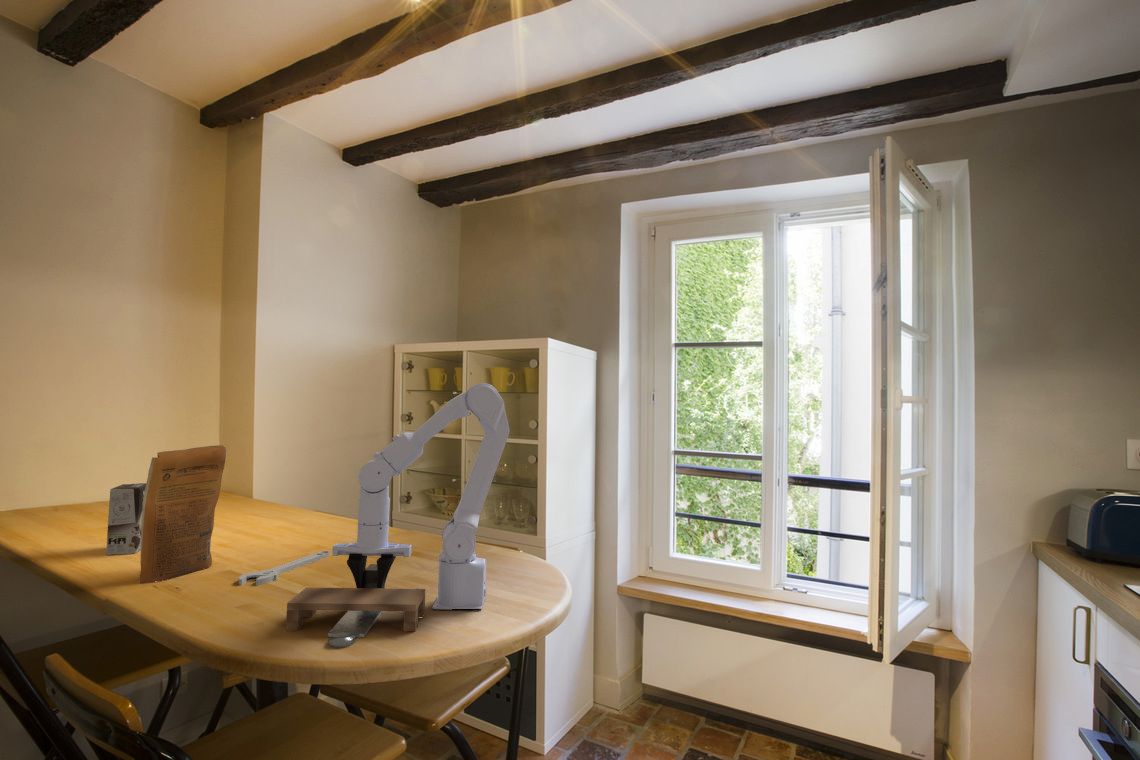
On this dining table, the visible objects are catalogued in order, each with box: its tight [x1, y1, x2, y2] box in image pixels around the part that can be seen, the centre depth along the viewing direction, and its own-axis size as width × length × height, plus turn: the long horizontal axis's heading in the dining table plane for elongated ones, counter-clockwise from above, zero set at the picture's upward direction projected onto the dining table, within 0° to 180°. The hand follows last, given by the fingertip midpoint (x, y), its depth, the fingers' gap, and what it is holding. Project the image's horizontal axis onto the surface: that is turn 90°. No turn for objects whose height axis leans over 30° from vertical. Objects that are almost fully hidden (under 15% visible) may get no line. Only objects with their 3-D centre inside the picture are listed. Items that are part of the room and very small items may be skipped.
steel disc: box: [328, 632, 356, 649], centre depth 94 cm, size 4×4×1 cm
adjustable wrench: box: [237, 550, 331, 586], centre depth 131 cm, size 25×6×2 cm, turn 159°
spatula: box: [327, 563, 386, 638], centre depth 105 cm, size 6×18×7 cm, turn 3°
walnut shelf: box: [285, 586, 426, 633], centre depth 102 cm, size 22×8×5 cm, turn 93°
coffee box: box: [105, 482, 147, 556], centre depth 143 cm, size 9×6×16 cm
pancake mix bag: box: [137, 444, 227, 584], centre depth 126 cm, size 7×19×28 cm, turn 159°
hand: (370, 593), depth 109 cm, fingers closed on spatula, 3 cm apart
